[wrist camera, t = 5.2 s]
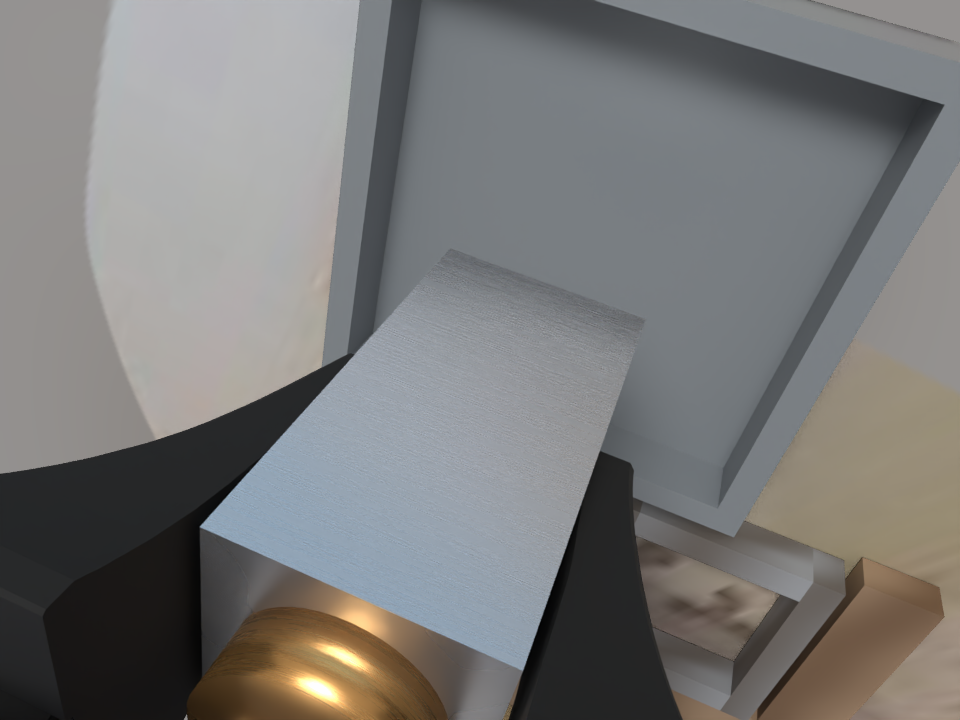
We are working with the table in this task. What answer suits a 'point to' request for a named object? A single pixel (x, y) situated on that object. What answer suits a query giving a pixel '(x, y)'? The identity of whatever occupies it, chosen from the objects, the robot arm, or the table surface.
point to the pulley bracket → (791, 626)
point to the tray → (653, 196)
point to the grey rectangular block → (414, 509)
